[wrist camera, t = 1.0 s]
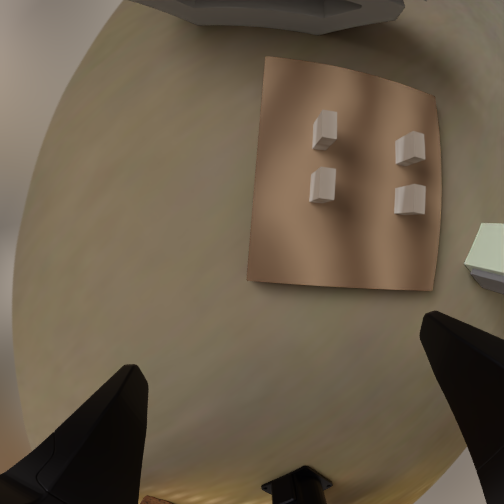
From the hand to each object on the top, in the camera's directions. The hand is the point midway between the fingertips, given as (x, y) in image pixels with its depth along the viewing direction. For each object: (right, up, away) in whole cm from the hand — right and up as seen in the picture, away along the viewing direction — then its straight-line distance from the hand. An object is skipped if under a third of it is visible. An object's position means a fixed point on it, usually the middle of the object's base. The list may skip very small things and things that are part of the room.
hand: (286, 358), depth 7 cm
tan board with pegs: (+7, +9, +13) cm, 18 cm away
